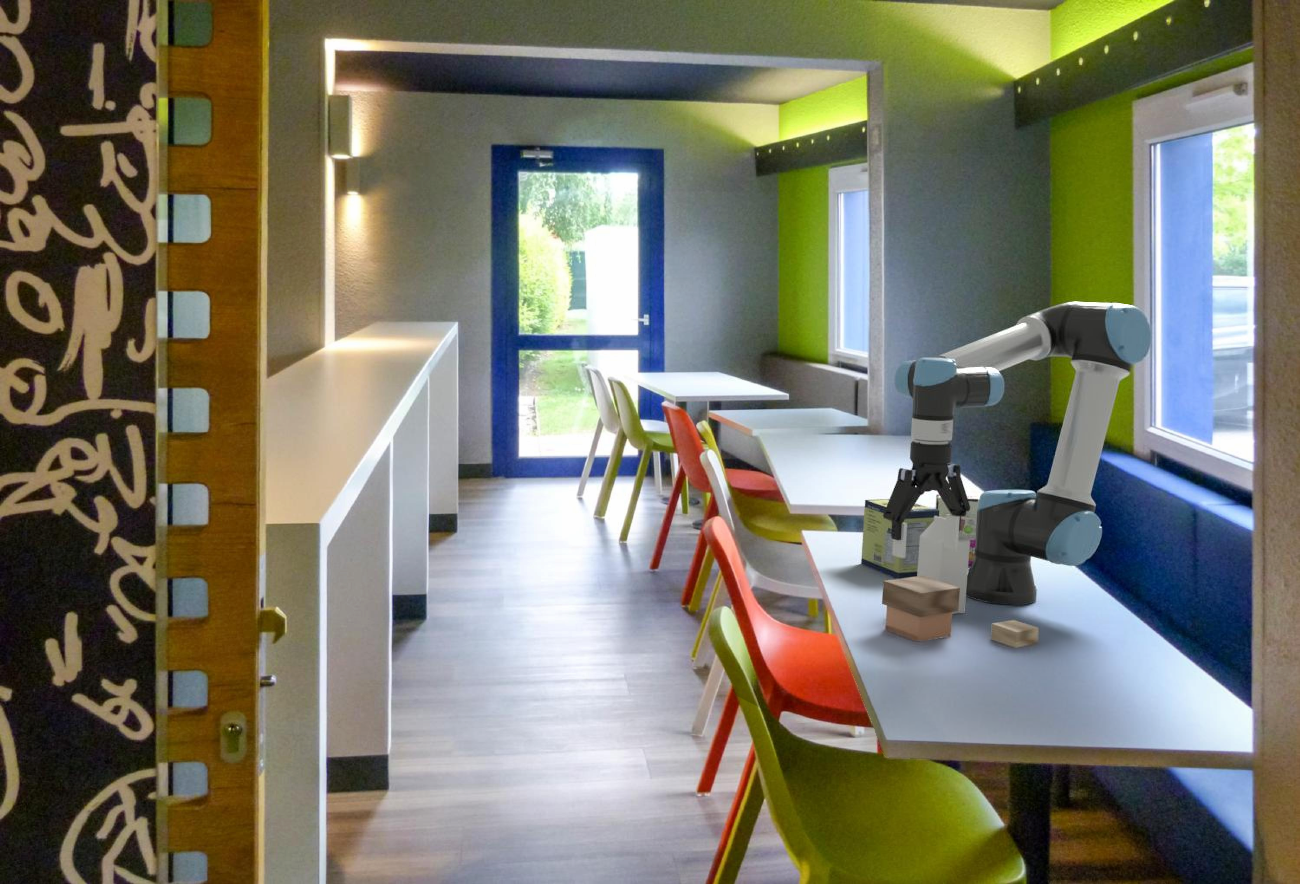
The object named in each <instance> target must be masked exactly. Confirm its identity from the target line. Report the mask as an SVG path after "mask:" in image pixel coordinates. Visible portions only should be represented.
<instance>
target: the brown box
mask: <svg viewBox="0 0 1300 884" xmlns="http://www.w3.org/2000/svg"><path fill="white" fill-rule="evenodd" d="M959 593H960V588H959V587H956V586H953V585H949V584H946V583H943V582H940V581H937V580H933V579H930V578H927V577H924V576H916V577H909V578H901V579H896V578H894V579H888V580H883V582H882V597H881V598H882V599H881V605H884V606H886V607H887V606H889V607H892V608H895V609H898V610H901V611H904V612H906V613H909V614H912V615H915V616H918V617H924V616H930V615H936V614H943V613H949V612H955V611H958V606H959Z"/></svg>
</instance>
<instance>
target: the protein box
mask: <svg viewBox="0 0 1300 884" xmlns="http://www.w3.org/2000/svg"><path fill="white" fill-rule="evenodd" d="M889 499H890V498H885V499H884V498H883V499H882V498H881V499H879V498H877V499H864V511H863V532H862V542H861V543H862V545H861V559H860V560H861V562H860V565H863V566H865V567H868V568H869V569H872V570H874V571H877V572H880V573H881V574H884V575H887V576H889V577H892V578H894V579H901V578H909V577H916V576H917V571H918V557H919V543H920V535H921V534H922V533H923V532H924V531H925V530H926V529H927V528H928V527H929V526H930V525H931V524H932V522H933V521H934V516H938V517H939V510H938V509H936V508H934V507H931V506H927V505H923V504H920V503H917V502H916V503H915V505H914V506H913V508H912V509H911V511H910V512H909V514H908V516H907V517H906V519H905V520H904V523H907V537H906V556H905V558H900V557H897V556H893V555H892V549H893V539H892V538H891V529H892V522H891V521H890V520H888V519H885V518H884V517H883V514H884V512H885V509H886V507H887V504H888V502H889ZM891 514H892V512H891ZM899 516H900V515H899Z"/></svg>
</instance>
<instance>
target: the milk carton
mask: <svg viewBox="0 0 1300 884" xmlns="http://www.w3.org/2000/svg"><path fill="white" fill-rule="evenodd" d="M945 529H946V519H945V518H941V517H938V516H934V521H933V522H932V524H931V525H930V526H929V527H928V528H927V529H926V530H925V531H924V532H923V533H922V534H921V535H920V543H919V557H918V571H917V576H924V577H927V578H930V579H933V580H937V581H940V582H943V583H946V584H949V585H953V586H956V587H959V588H960V593H959V606H958V611H955V612H952V615H956V614H965V610H966V599H967V595H966V588H967V575H968V572H969V567H968V561H969V548H970V540H969V539H968V538H967V537H966V536H965V535H964V534H963V533H962V531H961V530H960V531H959V535H958V550H952V549H948V548H945V547H944V546H945Z"/></svg>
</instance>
